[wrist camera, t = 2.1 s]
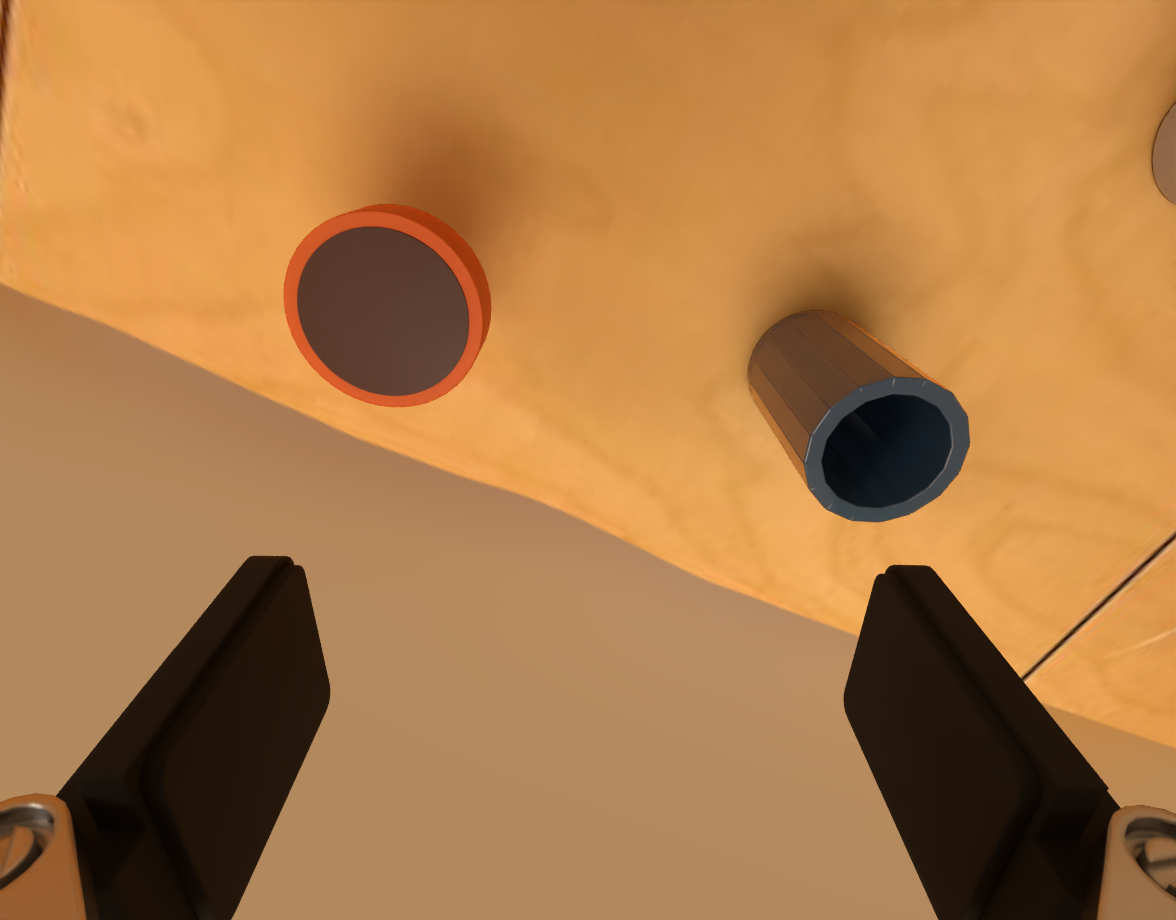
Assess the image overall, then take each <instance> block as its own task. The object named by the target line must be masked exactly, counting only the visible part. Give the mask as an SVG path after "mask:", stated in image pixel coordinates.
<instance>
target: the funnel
mask: <svg viewBox="0 0 1176 920" xmlns="http://www.w3.org/2000/svg"><path fill="white" fill-rule="evenodd" d="M284 307H285V313H286V318H287V322H288V325H289V328H290V331H291V334H292V336H293V338H294V340H295V342H296V344H297V346H298V348H299V350H300V351H301V353H302V354H303V356H304V357H305V359H306V360H307V361H308V363H309V364H310V365H311V366H312V367H313V369H314V370H315V371H316V372H317V373H318V374H319V375H320V376H321V377H322V378H324V379H325V380H326V381H327V382H329V383H330V384H331V385H332V386H334V387H336V388H337V389H339V390H340V391H342V392H343V393H345V394H347V395H349V396H351V397H353V398H356V399H358V400H361V401H364V402H367V403H370V404H375V405H379V406H387V407H409V406H416V405H420V404H424V403H427V402H430V401H432V400H435V399H437V398H439V397H441V396H443V395H444V394H446V393H448V392H449V391H450V390H452V389H453V388H454V387H455V386H457V385H458V384H459V383H460V382H461V381H462V379H463V378H464V377H465V376H466V375H467V373H468V372H469V370H470V369H471V367H472V365H473V364H474V362H475V360H476V358H477V356H478V354H479V352H480V350H481V348H482V346H483V343H484V341H485V339H486V336H487V333H488V330H489V325H490V320H491V296H490V291H489V286H488V282H487V279H486V276H485V273H484V271H483V269H482V266H481V264H480V262H479V260H478V259H477V257H476V255H475V254H474V252H473V251H472V249H471V248H470V247H469V245H468V244H467V243H466V242H465V241H464V239H463V238H462V237H461V236H460V235H459V234H457V233H456V232H455V231H454V230H453V229H452V228H451V227H449V226H448V225H447V224H445V223H444V222H443V221H441V220H439V219H437V218H436V217H434V216H432V215H430V214H428V213H426V212H423V211H421V210H418V209H415V208H411V207H407V206H401V205H394V204H380V205H373V206H367V207H364V208H360V209H357V210H354V211H351V212H348V213H345V214H342V215H339V216H336V217H334V218H332V219H330V220H328V221H326V222H324V223H322V224H321V225H319V226H318V227H316V228H315V229H314V230H313V231H311V232H310V233H309V234H308V235H307V236H306V237H305V238H304V239H303V241H302V242H301V243H300V245H299V246H298V247H297V249H296V251H295V253H294V255H293V256H292V258H291V261H290V263H289V266H288V269H287V272H286V278H285V283H284Z"/></svg>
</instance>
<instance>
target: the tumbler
mask: <svg viewBox="0 0 1176 920" xmlns="http://www.w3.org/2000/svg"><path fill="white" fill-rule="evenodd" d="M748 384H749V389H750V392H751V395H752V397H753V399H754V402H755V404H756V405H757V407H758V408H759V410H760V412H761V413H762V415H763V416H764V418H765V420H766V421H767V423H768V425H769V426H770V428H771V429H772V431H773V433H774V434H775V436H776V437H777V439H778V441H779V442H780V444H781V445H782V447H783V449H784V450H785V452H786V453H787V455H788V457H789V458H790V460H791V461H792V463H793V465H794V466H795V468H796V469H797V471H798V473H799V474H800V476H801V478H802V479H803V481H804V482H805V484H806V486H807V487H808V489H809V490H810V492H811V493H812V494H813V495H814V496H815V498H816V499H817V500H818V501H819V502H820V504H821V505H822V506H823V507H824V508H826V510H828V511H830V512H833V513H835V514H837V515H839V516H841V517H843V518H846V519H848V520H851V521H863V522H884V521H888V520H891V519H895V518H899V517H902V516H906V515H910V513H913V512H915V511H917V510H918V509H920V508H921V507H923V506H925V505H926V504H928V503H929V502H931V501H933V500H934V499H936V498H937V497H938V496H940V495H941V494H942V493H943V491H944V490H945V489H946V488H947V487H948V486H949V484H950V483H951V482H952V481H953V480H954V479H955V477H956V476H957V475H958V474H959V472H960V470H961V467H962V465H963V462H964V459H965V457H966V454H967V451H968V449H969V446H970V445H969V444H970V436H969V423H968V416H967V414H966V412H965V411H964V409H963V408H962V406H961V405H960V403H959V402H958V400H957V399H956V397H955V395H954V394H953V393H952V392H951V391H950V390H948V389H947V388H945V387H944V386H943V385H941V384H940V383H938V382H937V381H936V380H934V379H933V378H931V377H930V376H929V375H927V374H926V373H924V372H923V371H922V370H920V369H919V368H917V367H916V366H914V365H913V364H912V363H910V362H909V361H907V360H906V359H905V358H903V357H902V356H900V355H899V354H898V353H896V352H895V351H893V350H892V349H891V348H889V347H888V346H886V345H885V344H884V343H882V342H881V341H879V340H878V339H876V338H875V337H874V336H872V335H871V334H869V333H868V332H867V331H865V330H864V329H862V328H861V327H860V326H858V325H857V324H855V323H853V322H851V321H849V320H848V319H846V318H845V317H843V316H841V315H839V314H836V313H833V312H829V311H822V310H812V311H804V312H801V313H797V314H794V315H791V316H789V317H787V318H785V319H783V320H781V321H780V322H778V323H777V324H776V325H774V326H773V327H772V328H771V329H769V330H768V331H767V332H766V334H765V335H764V336H763V337H762V338H761V340H760V341H759V342H758V344H757V345H756V347H755V349H754V351H753V353H752V356H751V359H750V363H749V367H748Z"/></svg>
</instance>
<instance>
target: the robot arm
mask: <svg viewBox="0 0 1176 920" xmlns="http://www.w3.org/2000/svg"><path fill="white" fill-rule="evenodd" d="M329 700H330V684H329V679H328V675H327V670H326V666H325V661H324V656H323V652H322V647H321V643H320V638H319V634H318V629H317V625H316V620H315V616H314V611H313V607H312V602H311V598H310V593H309V588H308V584H307V579H306V575H305V571H304V569H303V567H302V566H299V565H294V563H293V561H292V559H291V558H290V557H287V556H251V557H249V558H248V559H247V560H246V561H245V562H244V563H243V565H242V566H241V567H240V568H239V569H238V571H237V572H236V573H235V574H234V576H233V577H232V578H231V579H230V581H229V582H228V583H227V584H226V586H225V587H224V588H223V589H222V591H221V592H220V593H219V594H218V596H217V597H216V598H215V599H214V601H213V602H212V603H211V604H210V605H209V607H208V608H207V609H206V611H205V612H204V613H203V614H202V615H201V617H200V618H199V619H198V620H197V622H196V623H195V624H194V625H193V627H192V628H191V629H190V630H189V632H188V633H187V634H186V636H185V637H184V638H183V639H182V640H181V642H180V643H179V644H178V645H177V647H176V648H175V649H174V650H173V651H172V652H171V654H170V655H169V656H168V657H167V658H166V660H165V661H164V662H163V663H162V665H161V666H160V667H159V668H158V670H157V671H156V672H155V673H154V675H153V676H152V677H151V678H150V680H149V681H148V682H147V683H146V685H145V686H144V687H143V688H142V689H141V691H140V692H139V693H138V694H137V696H136V697H135V698H134V699H133V701H132V702H131V703H130V704H129V706H128V707H127V708H126V709H125V711H124V712H123V713H122V714H121V716H120V717H119V718H118V719H117V721H116V722H115V723H114V724H113V726H112V727H111V728H110V729H109V731H108V732H107V733H106V734H105V736H104V737H103V738H102V739H101V741H100V742H99V743H98V744H97V745H96V747H95V748H94V749H93V750H92V752H91V753H90V754H89V755H88V757H87V758H86V759H85V761H84V762H83V763H82V764H81V765H80V767H79V768H78V769H77V770H76V772H75V773H74V774H73V775H72V777H71V778H70V779H69V780H68V781H67V783H66V784H65V785H64V786H63V788H62V789H61V790H60V791H59V793H58V794H57V795H56V796H53V795H45V794H30V795H24V796H18V797H13V798H10V799H7V800H5V801H2V802H0V920H231V919H232V917H233V915H234V913H235V911H236V909H237V907H238V905H239V903H240V900H241V898H242V896H243V894H244V892H245V889H246V887H247V885H248V883H249V880H250V878H251V876H252V874H253V872H254V869H255V867H256V865H257V863H258V860H259V858H260V856H261V854H262V852H263V850H264V847H265V845H266V843H267V841H268V839H269V836H270V834H271V831H272V830H273V827H274V825H275V823H276V821H277V818H278V816H279V814H280V812H281V810H282V808H283V805H284V803H285V801H286V799H287V796H288V794H289V792H290V790H291V788H292V786H293V783H294V781H295V779H296V777H297V774H298V772H299V769H300V768H301V766H302V763H303V761H304V759H305V757H306V754H307V752H308V750H309V748H310V746H311V743H312V741H313V739H314V737H315V735H316V732H317V730H318V728H319V726H320V724H321V721H322V719H323V717H324V715H325V713H326V710H327V708H328V704H329ZM844 708H845V712H846V715H847V717H848V720H849V722H850V724H851V727H852V729H853V731H854V733H855V736H856V738H857V740H858V742H859V744H860V746H861V749H862V751H863V753H864V755H865V758H866V760H867V762H868V764H869V767H870V769H871V771H872V773H873V776H874V778H875V780H876V782H877V784H878V787H879V789H880V791H881V793H882V795H883V798H884V800H885V802H886V804H887V807H888V809H889V811H890V813H891V816H892V818H893V820H894V822H895V824H896V827H897V829H898V831H899V833H900V836H901V838H902V840H903V842H904V844H905V846H906V849H907V851H908V853H909V856H910V858H911V860H912V862H913V864H914V866H915V869H916V871H917V873H918V875H919V878H920V880H921V882H922V884H923V887H924V889H925V891H926V893H927V896H928V898H929V900H930V902H931V904H932V906H933V909H934V911H935V913H936V916H937V918H938V920H1176V814H1175V813H1172V812H1170V811H1167V810H1165V809H1160V808H1155V807H1150V806H1145V805H1136V806H1125V807H1123V808H1122V809H1121V808H1120V807H1119V806H1118V804H1117V803H1116V802H1115V801H1114V799H1113V798H1112V797H1111V795H1110V794H1109V793H1108V792H1107V790H1108V787H1107V785H1106V784H1105V783H1104V782H1103V780H1102V779H1101V778H1100V777H1099V775H1098V774H1097V773H1096V772H1095V770H1094V769H1093V768H1092V767H1091V765H1090V764H1089V763H1088V762H1087V761H1086V759H1085V758H1084V757H1083V755H1082V754H1081V753H1080V752H1079V751H1078V749H1077V748H1076V747H1075V746H1074V744H1073V743H1072V742H1071V741H1070V739H1069V738H1068V737H1067V736H1066V734H1065V733H1064V732H1063V731H1062V729H1061V728H1060V727H1059V726H1058V724H1057V723H1056V722H1055V721H1054V719H1053V718H1052V717H1051V716H1050V714H1049V713H1048V712H1047V711H1046V709H1045V708H1044V707H1043V706H1042V704H1041V703H1040V702H1039V701H1038V699H1037V698H1036V697H1035V696H1034V694H1033V693H1032V692H1031V691H1030V689H1029V688H1028V687H1027V686H1026V684H1025V683H1024V682H1023V681H1022V679H1021V678H1020V677H1019V676H1018V674H1017V673H1016V672H1015V671H1014V669H1013V668H1012V667H1011V666H1010V664H1009V663H1008V662H1007V661H1006V659H1005V658H1004V657H1003V656H1002V654H1001V653H1000V652H999V651H998V650H997V648H996V647H995V646H994V645H993V643H992V642H991V641H990V640H989V638H988V637H987V636H986V635H985V633H984V632H983V631H982V630H981V628H980V627H979V626H978V625H977V623H976V622H975V621H974V620H973V618H972V617H971V616H970V615H969V613H968V612H967V611H966V610H965V608H964V607H963V606H962V605H961V603H960V602H959V601H958V600H957V598H956V597H955V596H954V595H953V593H952V592H951V591H950V590H949V588H948V587H947V586H946V585H945V583H944V582H943V581H942V580H941V578H940V577H939V576H938V575H937V573H936V572H935V571H934V570H933V569H932V568H931V567H929V566H926V565H892V566H889V567H888V569H887V570H886V572H885V574H879V575H878V576H877V577H876V579H875V581H874V585H873V588H872V592H871V596H870V599H869V603H868V607H867V610H866V614H865V617H864V621H863V625H862V628H861V632H860V636H859V640H858V643H857V647H856V651H855V654H854V658H853V661H852V665H851V669H850V672H849V676H848V680H847V684H846V687H845V691H844Z"/></svg>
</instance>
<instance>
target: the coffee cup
mask: <svg viewBox="0 0 1176 920" xmlns="http://www.w3.org/2000/svg"><path fill="white" fill-rule="evenodd" d="M1152 163H1153V174H1154V177H1155V180H1156V184H1157V186H1158V188H1159V189H1160V191H1161V193H1162V194H1163V195H1164V196H1165V197H1166V198H1167V199H1168V200H1169V201H1170V202H1172V203H1174V204H1176V103H1175V104H1174V106H1173V107H1172V108H1171V110H1170V111H1169V113H1168V114H1167V116H1166V117H1165V118H1164V120H1163V122H1162V124H1161V127H1160V129H1159V131H1158V133H1157V137H1156V140H1155V144H1154V148H1153V158H1152Z"/></svg>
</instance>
